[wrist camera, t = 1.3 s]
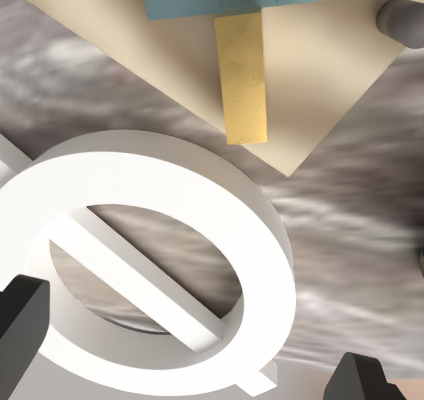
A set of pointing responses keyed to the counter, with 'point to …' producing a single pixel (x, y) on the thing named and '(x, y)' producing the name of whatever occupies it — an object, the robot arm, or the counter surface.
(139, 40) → the base board
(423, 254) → the canister
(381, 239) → the counter surface
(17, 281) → the robot arm
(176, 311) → the white circle with bar
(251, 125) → the t-shaped piece
